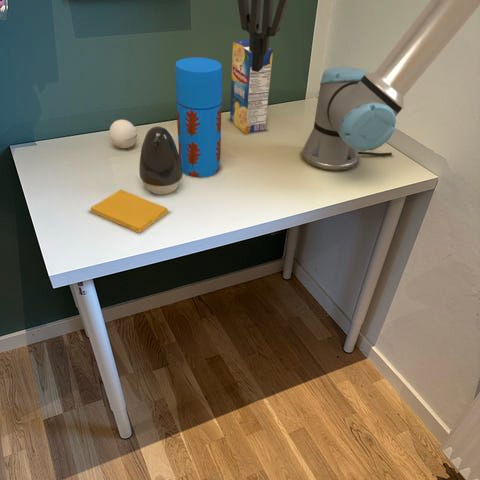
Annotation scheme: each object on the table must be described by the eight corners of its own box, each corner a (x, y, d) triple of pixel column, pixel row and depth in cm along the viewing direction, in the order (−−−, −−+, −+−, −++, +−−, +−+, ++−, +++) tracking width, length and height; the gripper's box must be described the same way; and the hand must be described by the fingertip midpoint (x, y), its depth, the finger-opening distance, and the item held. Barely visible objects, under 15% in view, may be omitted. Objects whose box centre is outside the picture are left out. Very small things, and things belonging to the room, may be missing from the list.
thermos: (212, 180, 119) (213, 75, 102) (173, 173, 121) (167, 68, 103) (225, 162, 127) (228, 61, 109) (187, 155, 129) (185, 54, 111)
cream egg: (118, 155, 126) (114, 128, 121) (106, 144, 131) (102, 118, 125) (151, 147, 131) (149, 121, 126) (139, 137, 135) (136, 111, 130)
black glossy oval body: (136, 198, 112) (129, 135, 101) (145, 177, 119) (139, 116, 108) (179, 201, 112) (176, 139, 101) (185, 180, 119) (183, 119, 108)
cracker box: (245, 133, 140) (250, 52, 125) (229, 119, 147) (232, 40, 132) (265, 130, 143) (273, 50, 127) (249, 116, 149) (254, 39, 134)
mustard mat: (167, 212, 108) (167, 208, 107) (139, 233, 102) (138, 228, 101) (121, 193, 113) (120, 189, 112) (91, 212, 106) (90, 207, 106)
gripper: (226, -74, 82) (222, 68, 100) (296, -64, 79) (279, 81, 97) (242, -80, 87) (236, 57, 105) (309, -70, 84) (291, 69, 102)
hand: (257, 69), depth 101 cm, fingers closed
